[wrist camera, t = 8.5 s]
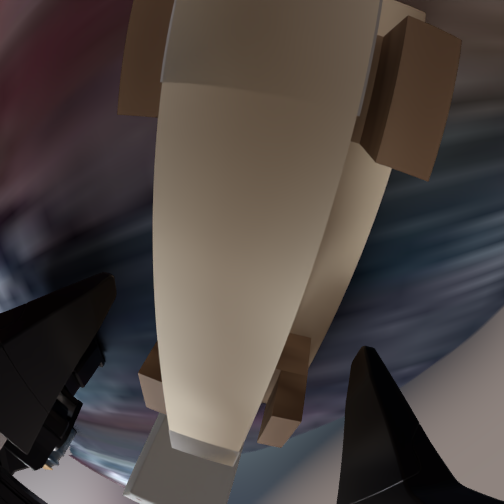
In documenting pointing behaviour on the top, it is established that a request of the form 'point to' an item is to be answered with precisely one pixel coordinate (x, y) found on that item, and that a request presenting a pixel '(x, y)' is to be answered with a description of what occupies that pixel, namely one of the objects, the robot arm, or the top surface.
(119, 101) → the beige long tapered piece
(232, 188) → the rail
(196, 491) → the supplement box
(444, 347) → the top surface
